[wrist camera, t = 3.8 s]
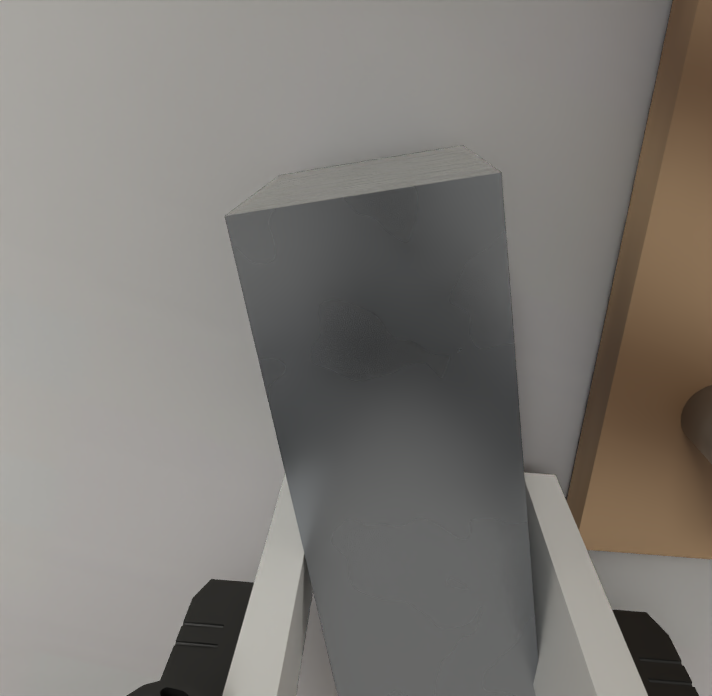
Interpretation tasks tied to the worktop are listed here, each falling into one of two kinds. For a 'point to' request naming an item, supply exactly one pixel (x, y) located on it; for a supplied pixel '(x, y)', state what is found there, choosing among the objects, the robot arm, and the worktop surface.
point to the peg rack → (658, 329)
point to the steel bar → (398, 416)
